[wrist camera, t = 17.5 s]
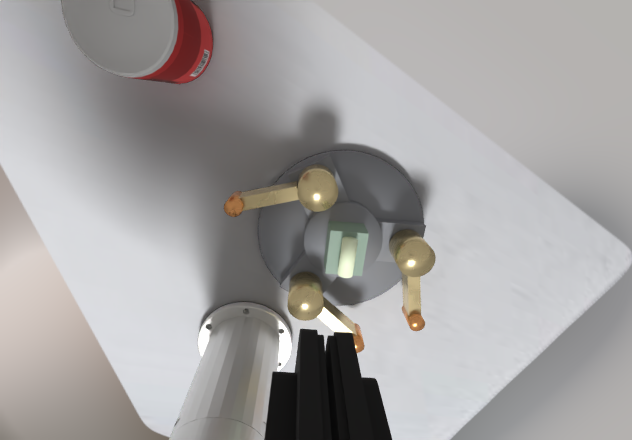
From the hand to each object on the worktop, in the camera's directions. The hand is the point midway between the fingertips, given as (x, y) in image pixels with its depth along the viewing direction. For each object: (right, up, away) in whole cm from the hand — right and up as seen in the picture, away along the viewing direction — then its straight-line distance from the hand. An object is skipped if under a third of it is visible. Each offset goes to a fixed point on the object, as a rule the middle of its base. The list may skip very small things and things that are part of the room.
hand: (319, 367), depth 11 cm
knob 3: (+11, -2, +30) cm, 31 cm away
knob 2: (+1, -6, +31) cm, 31 cm away
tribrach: (+3, +3, +30) cm, 30 cm away
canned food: (-14, +23, +22) cm, 35 cm away
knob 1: (-4, +8, +25) cm, 27 cm away
